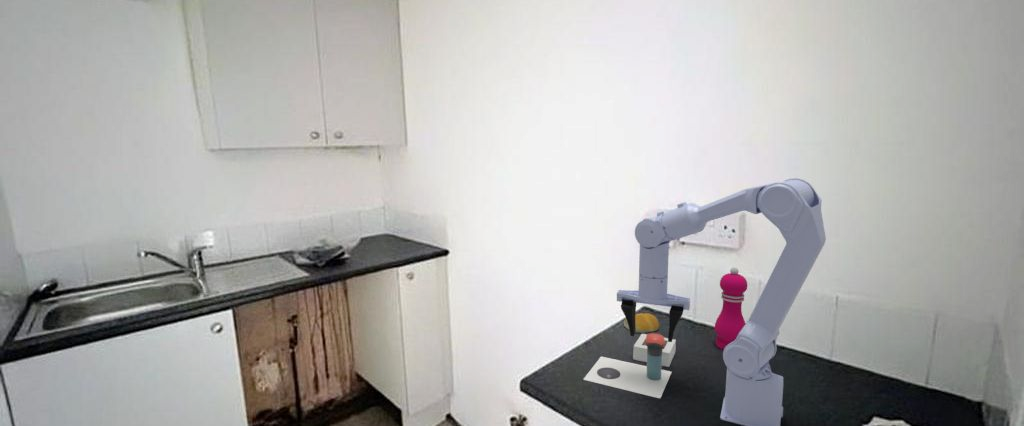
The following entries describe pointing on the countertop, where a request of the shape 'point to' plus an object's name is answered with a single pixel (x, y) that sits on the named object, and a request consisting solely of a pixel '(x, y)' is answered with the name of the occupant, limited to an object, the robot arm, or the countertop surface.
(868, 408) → the countertop surface
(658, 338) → the button
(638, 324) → the bread roll
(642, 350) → the button housing
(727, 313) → the pepper mill
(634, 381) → the paper
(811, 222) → the robot arm
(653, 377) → the teal cylinder
